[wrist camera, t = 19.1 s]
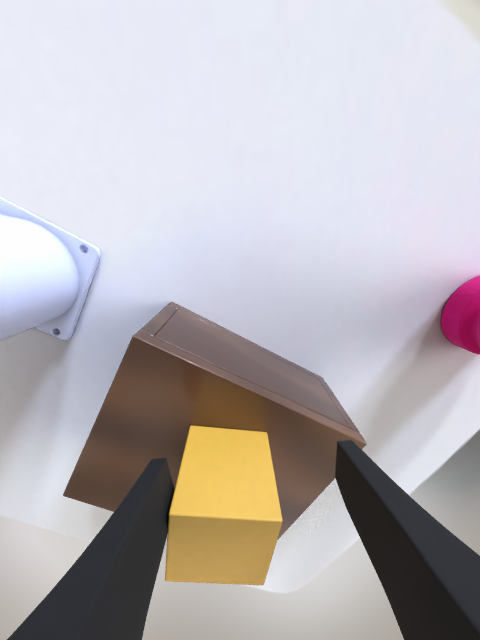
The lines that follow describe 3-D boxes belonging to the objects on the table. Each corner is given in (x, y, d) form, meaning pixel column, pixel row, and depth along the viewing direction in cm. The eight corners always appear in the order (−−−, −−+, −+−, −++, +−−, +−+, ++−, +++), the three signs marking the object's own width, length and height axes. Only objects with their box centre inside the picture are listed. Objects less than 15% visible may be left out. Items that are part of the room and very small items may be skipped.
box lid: (260, 544, 17) (261, 558, 17) (71, 483, 15) (62, 496, 14) (360, 433, 14) (367, 443, 13) (139, 329, 12) (132, 335, 11)
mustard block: (185, 480, 14) (164, 582, 10) (190, 424, 13) (168, 514, 8) (255, 485, 14) (264, 586, 10) (267, 431, 13) (283, 521, 9)
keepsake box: (257, 463, 23) (265, 538, 17) (120, 409, 20) (74, 475, 15) (322, 377, 20) (360, 432, 14) (171, 301, 17) (139, 329, 12)
